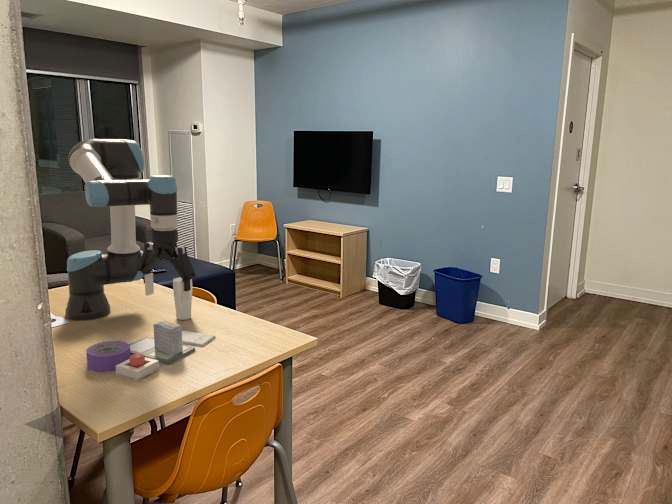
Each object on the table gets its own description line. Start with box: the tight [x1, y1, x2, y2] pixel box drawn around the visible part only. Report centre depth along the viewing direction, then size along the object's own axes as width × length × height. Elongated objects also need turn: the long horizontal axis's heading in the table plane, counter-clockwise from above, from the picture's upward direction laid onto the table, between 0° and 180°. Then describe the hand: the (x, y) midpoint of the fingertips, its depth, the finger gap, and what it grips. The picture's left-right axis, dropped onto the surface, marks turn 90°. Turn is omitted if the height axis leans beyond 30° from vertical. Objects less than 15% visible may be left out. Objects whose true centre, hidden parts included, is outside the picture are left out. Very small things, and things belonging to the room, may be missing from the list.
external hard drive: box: [182, 330, 216, 347], centre depth 169 cm, size 2×8×12 cm
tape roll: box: [86, 340, 131, 373], centre depth 149 cm, size 12×12×5 cm
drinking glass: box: [172, 277, 193, 321], centre depth 187 cm, size 7×7×15 cm
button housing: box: [115, 357, 160, 382], centre depth 144 cm, size 8×8×3 cm
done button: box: [129, 354, 145, 368], centre depth 143 cm, size 4×4×3 cm
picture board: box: [128, 336, 196, 366], centre depth 159 cm, size 20×12×1 cm, turn 66°
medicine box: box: [153, 320, 184, 356], centre depth 156 cm, size 8×4×9 cm, turn 59°
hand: (167, 297), depth 153 cm, fingers open, 13 cm apart
